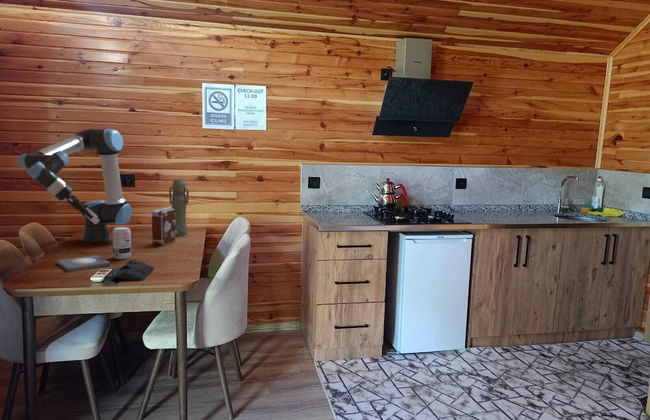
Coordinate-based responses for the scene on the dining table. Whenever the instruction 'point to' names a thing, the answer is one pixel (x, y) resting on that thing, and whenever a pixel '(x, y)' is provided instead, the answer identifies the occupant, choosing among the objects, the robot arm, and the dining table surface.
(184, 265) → the dining table surface
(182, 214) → the thermos
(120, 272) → the crumpled black cloth
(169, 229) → the cine camera
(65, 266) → the board
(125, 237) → the supplement can
